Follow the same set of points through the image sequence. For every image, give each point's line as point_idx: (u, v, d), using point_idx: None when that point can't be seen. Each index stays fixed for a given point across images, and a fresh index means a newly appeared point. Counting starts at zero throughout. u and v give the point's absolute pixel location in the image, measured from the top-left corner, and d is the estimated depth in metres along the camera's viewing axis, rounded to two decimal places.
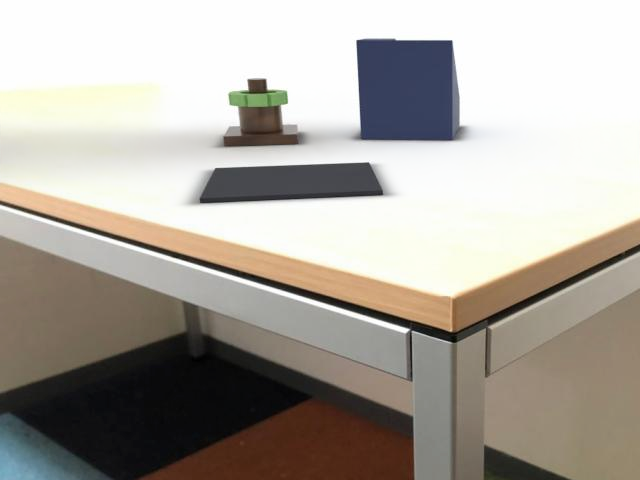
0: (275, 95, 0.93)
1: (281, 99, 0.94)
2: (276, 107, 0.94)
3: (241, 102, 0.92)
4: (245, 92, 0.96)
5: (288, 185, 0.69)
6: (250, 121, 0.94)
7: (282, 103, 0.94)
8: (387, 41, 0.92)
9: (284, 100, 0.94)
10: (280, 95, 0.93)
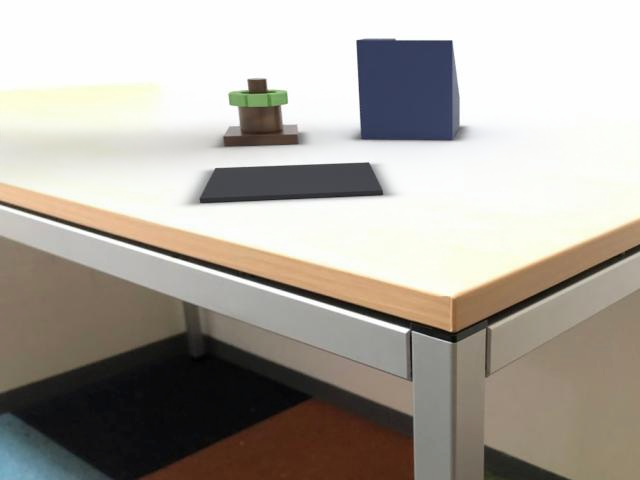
0: (275, 95, 0.93)
1: (281, 99, 0.94)
2: (276, 107, 0.94)
3: (241, 102, 0.92)
4: (245, 92, 0.96)
5: (288, 185, 0.69)
6: (250, 121, 0.94)
7: (282, 103, 0.94)
8: (387, 41, 0.92)
9: (284, 100, 0.94)
10: (280, 95, 0.93)
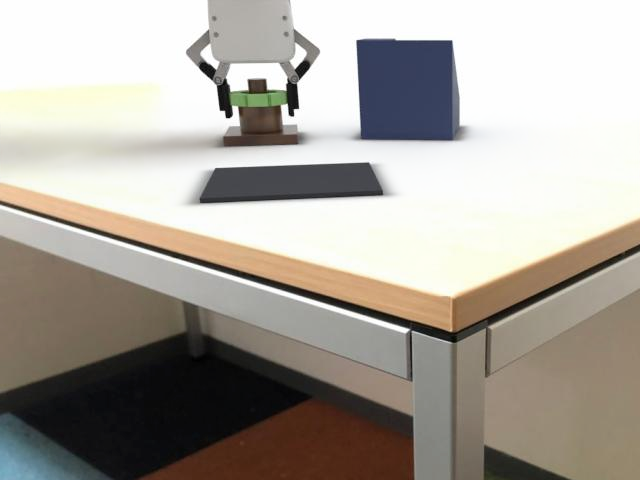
0: (275, 95, 0.93)
1: (281, 99, 0.94)
2: (276, 107, 0.94)
3: (241, 102, 0.92)
4: (245, 92, 0.96)
5: (288, 185, 0.69)
6: (250, 121, 0.94)
7: (282, 103, 0.94)
8: (387, 41, 0.92)
9: (284, 100, 0.94)
10: (280, 95, 0.93)
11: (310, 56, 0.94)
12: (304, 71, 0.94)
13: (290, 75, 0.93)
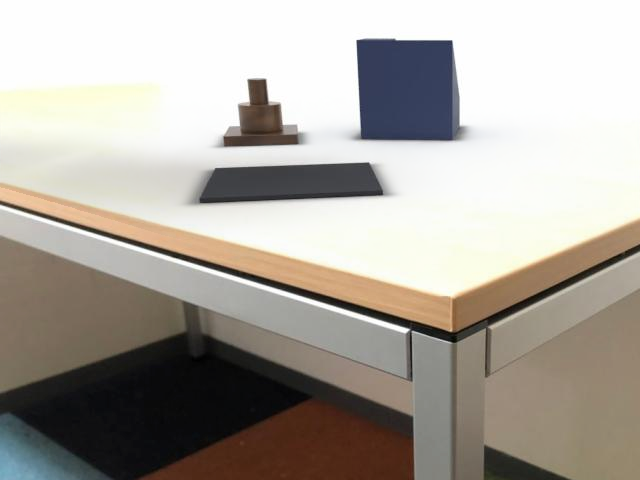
0: None
1: None
2: (276, 107, 0.94)
3: None
4: None
5: (288, 185, 0.69)
6: (250, 121, 0.94)
7: None
8: (387, 41, 0.92)
9: None
10: None
11: None
12: None
13: None
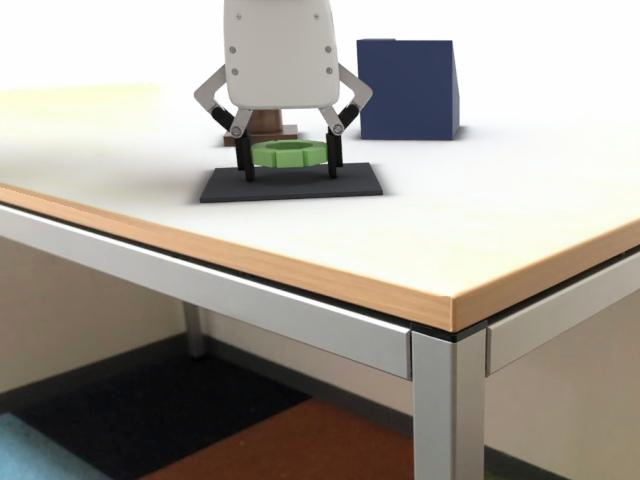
0: (313, 152, 0.69)
1: (320, 156, 0.70)
2: None
3: (268, 161, 0.68)
4: (272, 145, 0.72)
5: (288, 185, 0.69)
6: (250, 121, 0.94)
7: (322, 161, 0.70)
8: (387, 41, 0.92)
9: (324, 157, 0.70)
10: (319, 150, 0.70)
11: (359, 99, 0.70)
12: (351, 118, 0.70)
13: (333, 124, 0.70)
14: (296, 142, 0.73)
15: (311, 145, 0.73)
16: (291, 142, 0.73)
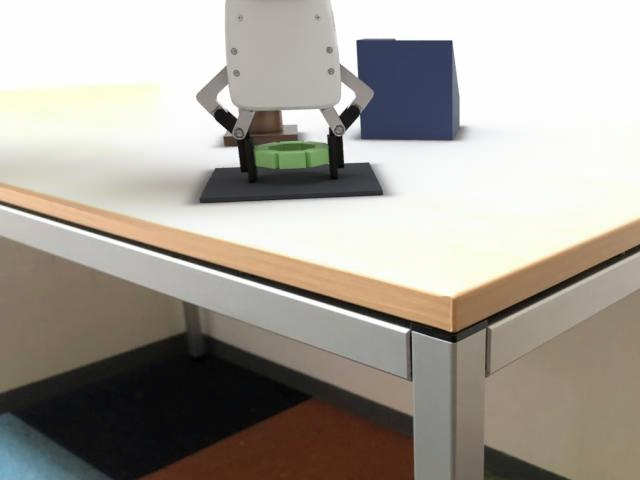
0: (315, 153, 0.69)
1: (323, 157, 0.70)
2: None
3: (270, 163, 0.68)
4: (274, 146, 0.72)
5: (288, 185, 0.69)
6: None
7: (324, 162, 0.70)
8: (387, 41, 0.92)
9: (327, 158, 0.70)
10: (322, 151, 0.70)
11: (360, 100, 0.70)
12: (352, 119, 0.70)
13: (334, 125, 0.70)
14: (298, 143, 0.73)
15: (313, 146, 0.73)
16: (293, 143, 0.73)
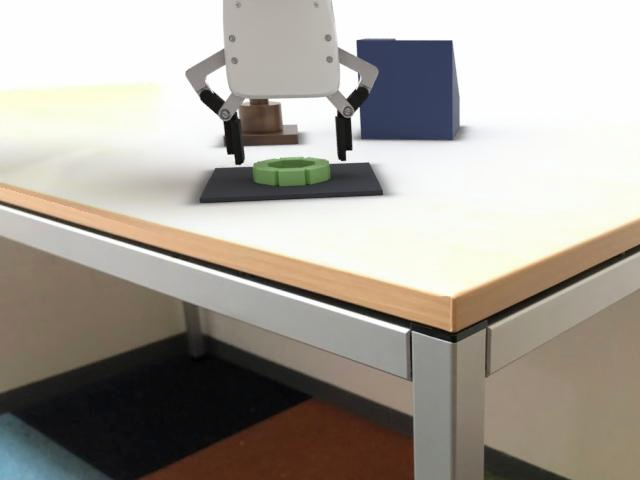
0: (315, 170, 0.70)
1: (322, 174, 0.71)
2: (276, 107, 0.94)
3: (270, 180, 0.69)
4: (274, 163, 0.73)
5: None
6: (250, 121, 0.94)
7: (323, 179, 0.71)
8: (387, 41, 0.92)
9: (326, 175, 0.71)
10: (321, 169, 0.70)
11: (367, 79, 0.70)
12: (361, 101, 0.70)
13: (342, 107, 0.69)
14: (298, 160, 0.74)
15: (313, 163, 0.73)
16: (293, 160, 0.74)
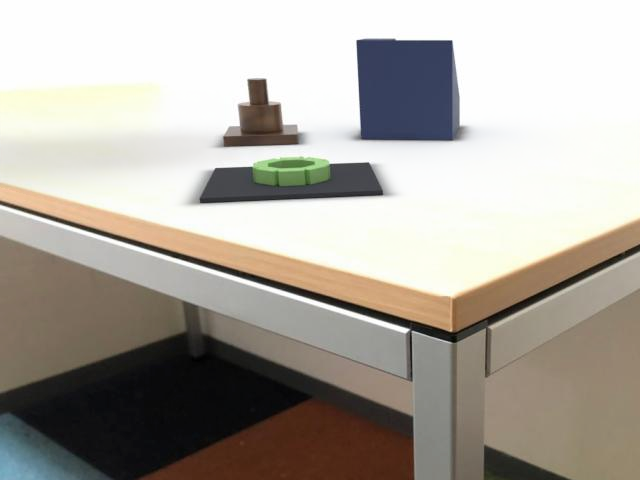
0: (315, 170, 0.70)
1: (322, 174, 0.71)
2: (276, 107, 0.94)
3: (270, 180, 0.69)
4: (274, 163, 0.73)
5: None
6: (250, 121, 0.94)
7: (323, 179, 0.71)
8: (387, 41, 0.92)
9: (326, 175, 0.71)
10: (321, 169, 0.70)
11: None
12: None
13: None
14: (298, 160, 0.74)
15: (313, 163, 0.73)
16: (293, 160, 0.74)
